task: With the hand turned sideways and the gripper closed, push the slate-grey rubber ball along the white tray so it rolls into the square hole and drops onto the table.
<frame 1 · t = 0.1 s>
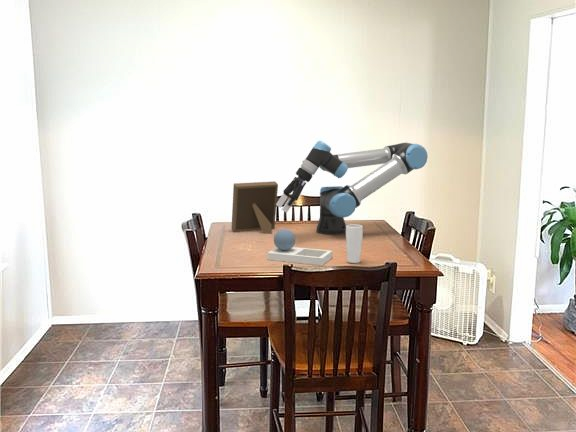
hand: (280, 208, 273), 15 cm above the table, tool tilted 35°, fingers open, 13 cm apart
ball: (284, 239, 244), point 7 cm above the table, touching white tray
photo frame: (256, 232, 296), on the table
white tray: (300, 258, 243), on the table
drinking glass: (353, 262, 238), on the table
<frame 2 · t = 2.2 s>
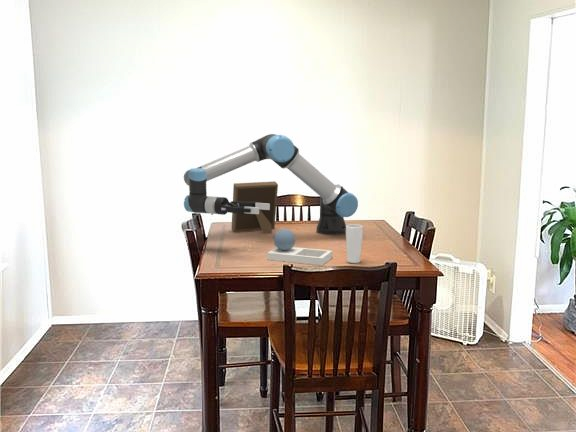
hand: (264, 208, 245), 20 cm above the table, tool horizontal, fingers open, 10 cm apart
nothing on the table moved.
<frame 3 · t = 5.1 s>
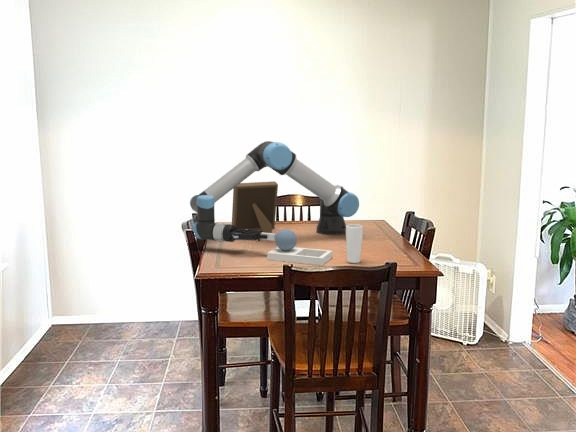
hand: (275, 237, 245), 8 cm above the table, tool horizontal, fingers closed
ball: (286, 240, 244), point 7 cm above the table, tilted 8°, touching white tray
everything else where it was.
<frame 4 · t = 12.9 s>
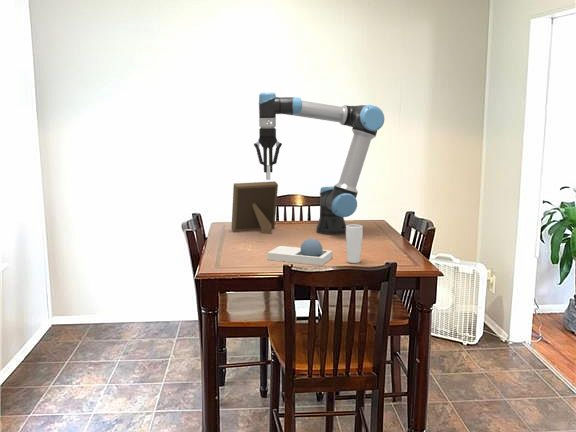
hand: (268, 179, 268), 29 cm above the table, tool pointing down, fingers closed
ball: (311, 249, 240), point 4 cm above the table, tilted 173°
everything else where it was.
at the end: ball inside the target area on the white tray (0.1 cm from its centre), point 4.5 cm above the white tray's base; ball moved 12.4 cm from its start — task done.
